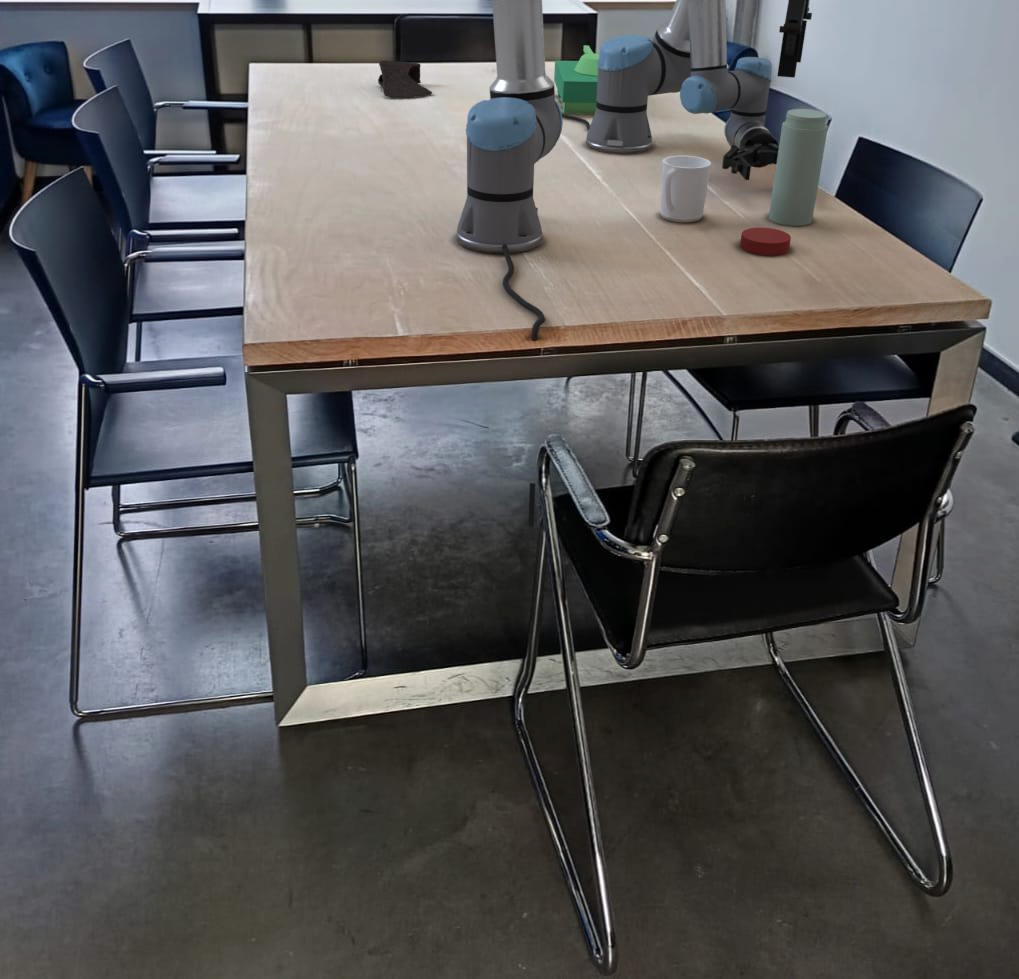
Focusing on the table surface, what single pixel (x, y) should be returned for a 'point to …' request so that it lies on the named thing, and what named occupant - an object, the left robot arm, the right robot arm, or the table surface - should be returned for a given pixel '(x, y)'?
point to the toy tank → (578, 83)
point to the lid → (765, 241)
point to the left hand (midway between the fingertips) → (789, 69)
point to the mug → (684, 188)
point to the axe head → (401, 79)
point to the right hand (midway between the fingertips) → (782, 173)
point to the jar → (798, 167)
